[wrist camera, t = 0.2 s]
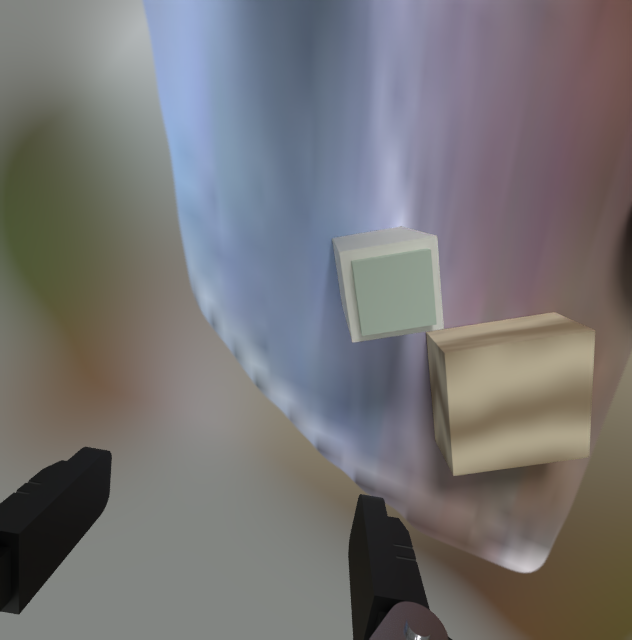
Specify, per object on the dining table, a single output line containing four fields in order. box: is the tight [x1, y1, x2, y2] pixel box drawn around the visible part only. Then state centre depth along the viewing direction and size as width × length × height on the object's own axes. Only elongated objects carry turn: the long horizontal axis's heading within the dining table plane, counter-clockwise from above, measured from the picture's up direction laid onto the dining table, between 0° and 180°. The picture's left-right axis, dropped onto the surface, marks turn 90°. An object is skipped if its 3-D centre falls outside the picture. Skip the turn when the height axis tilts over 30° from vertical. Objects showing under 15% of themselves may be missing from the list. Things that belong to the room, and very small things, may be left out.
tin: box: [332, 227, 444, 343], centre depth 27 cm, size 6×6×10 cm
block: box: [426, 312, 595, 476], centre depth 32 cm, size 11×11×5 cm
